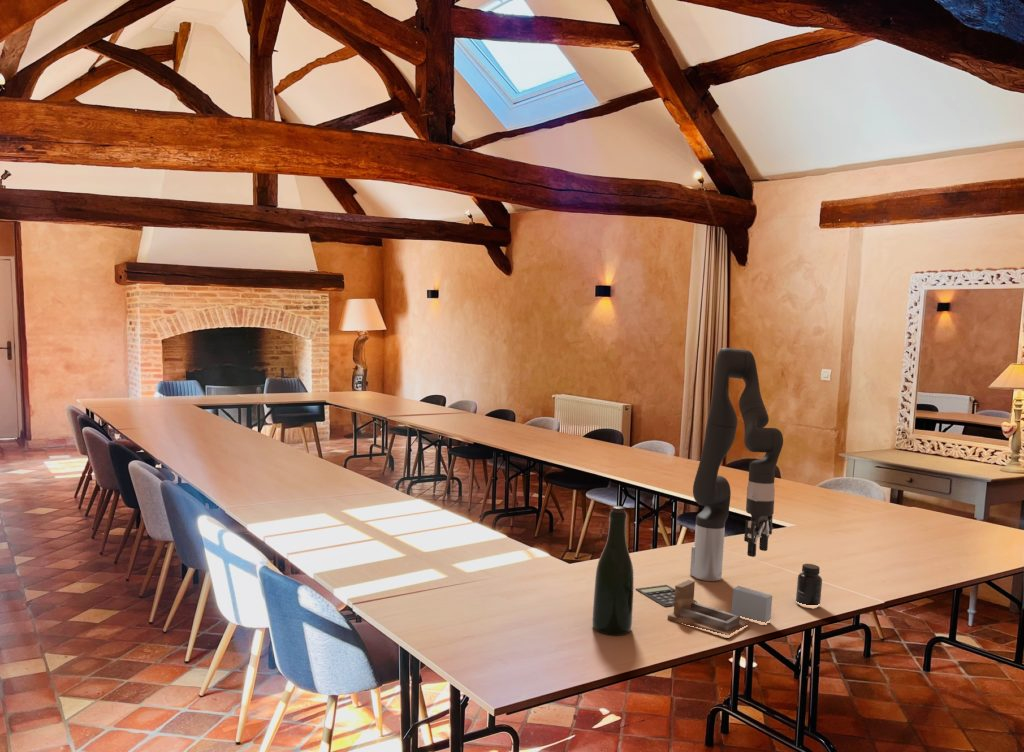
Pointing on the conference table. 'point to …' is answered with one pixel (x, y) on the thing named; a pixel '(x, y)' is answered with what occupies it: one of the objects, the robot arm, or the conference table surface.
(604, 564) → the dark green wine bottle
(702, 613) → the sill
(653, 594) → the calculator
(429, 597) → the conference table surface
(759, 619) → the gray rectangular block
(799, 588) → the supplement bottle
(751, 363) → the robot arm
